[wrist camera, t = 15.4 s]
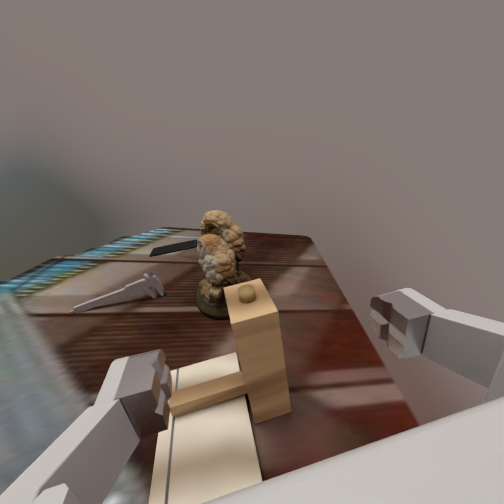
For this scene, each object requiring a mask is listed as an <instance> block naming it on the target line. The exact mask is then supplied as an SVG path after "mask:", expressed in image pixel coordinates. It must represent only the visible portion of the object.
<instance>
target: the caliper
mask: <svg viewBox="0 0 504 504" xmlns="http://www.w3.org/2000/svg"><path fill="white" fill-rule="evenodd" d="M143 276H144V279H141V280H139V281H136V282H134V283H131V284H128V285H126V286H125V287H124V288H123V289H120V290H118V291H115V292H112V293H109V294H107V295H104V296H101V297H98V298H96V299H93V300H90V301H87V302H85V303H82V304H79V305H77V306H75V307H74V308H73V309H72V310H71V311H70V312H69V313H68V314H71V313H74V312H75V313H78V312H83V311H86V310H89V309H91V308H94V307H97V306H99V305H102V304H105V303H107V302H110V301H113V300H116V299H119V298H121V297H124V296H127V295H129V296H130V297H134V296H135V295H139V294H140V293H141V292H142V291H145V292H146V293H148V294H149V295H150V296H151V297H152V298H156V297H157V294H156V292H155V291H154V290H153V288H152V287H151V286H153V285H154V286H155V288H156V289H157V290H158V292H159V293H160V295H161V296H162V297H163V296H164V294H165V291H164V288H163V286H162V283H161V281H160V280H159V278H158V277H157V276H156V275H153V274H152V273H151V272H149V274H148V275H147V274H146V273H145V274H144V275H143Z"/></svg>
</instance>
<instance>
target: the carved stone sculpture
mask: <svg viewBox="0 0 504 504" xmlns="http://www.w3.org/2000/svg"><path fill="white" fill-rule="evenodd" d="M200 230H201V235H202V236H201V237H200V238H199V240H198V242H197V243H198V246H197V251H198V254H199V255H200V260H199V264H200V266H202V267H203V271H204V273H205V274H206V278H205V279H203V280H202V281H201V282H200V283H199V288H198V290H197V293H196V302H197V305H198V308H199V310H200V311H201V312H202V313H203V314H205V315H206V316H209V317H211V316H212V318H214V319H225V318H230V316H229V311H228V307H227V302H226V297H225V293H224V287H228V286H232V285H236V284H240V283H244V282H248V281H252V280H251V278H250V277H249V276H248V275H247V274H246V273H244V272H243V271H241V270H240V269H241V268H240V266H239V264H238V262H239V263H240V262H241V261H242V258H243V256H244V250H246V246H245V244H244V239H243V232H242V230H241V229H240V228H239V227H238V226H236V225H235V223H234V221H233V219H232V218H231V217H230V216H229V214H227V213H225V212H223V211H219V210H214V211H209V212H207V213H205V215H204V218H203V220H202V221H201V225H200Z"/></svg>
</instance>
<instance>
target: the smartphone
mask: <svg viewBox="0 0 504 504" xmlns="http://www.w3.org/2000/svg"><path fill="white" fill-rule="evenodd" d="M195 247H197V240H192V241H187V242H182V243H177V244H172V245H167V246H162V247H157V248H154V249H153V250H152V252H151V254H150V257H152V256H157V255H162V254H167V253H171V252H176V251H181V250H186V249H191V248H195Z"/></svg>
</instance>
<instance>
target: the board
mask: <svg viewBox="0 0 504 504" xmlns="http://www.w3.org/2000/svg"><path fill="white" fill-rule="evenodd" d="M239 371H240V369H239V364H238V359H237V355H236V352H235V353H231V354H228V355H224V356H221V357H217V358H214V359H210V360H207V361H204V362H200V363H197V364H193V365H190V366H186V367H183V368H178V369H176V370H172V371H170V372H171V377H172V392H173V391H176V390H179V389H183V388H186V387H189V386H192V385H196V384H199V383H202V382H206V381H209V380H212V379H216V378H219V377H222V376H226V375H229V374H232V373H235V372H239ZM169 400H170V399H169ZM169 400H168V404H169ZM260 482H263V480H262V476H261V471H260V466H259V461H258V456H257V451H256V446H255V442H254V437H253V432H252V427H251V422H250V417H249V412H248V408H247V403H246V398H245V394H244V395H240V396H237V397H234V398H231V399H228V400H225V401H222V402H218V403H215V404H212V405H209V406H206V407H203V408H200V409H196V410H193V411H190V412H187V413H184V414H181V415H177V416H174V417H172V415H171V413H170V416H169V425H168V430H165V431H162V432H159V433H158V440H157V447H156V455H155V462H154V469H153V476H152V483H151V490H150V498H149V504H201V503H204V502H207V501H209V500H212V499H215V498H218V497H221V496H223V495H226V494H229V493H232V492H235V491H238V490H240V489H243V488H246V487H249V486H252V485H255V484H257V483H260Z"/></svg>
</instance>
